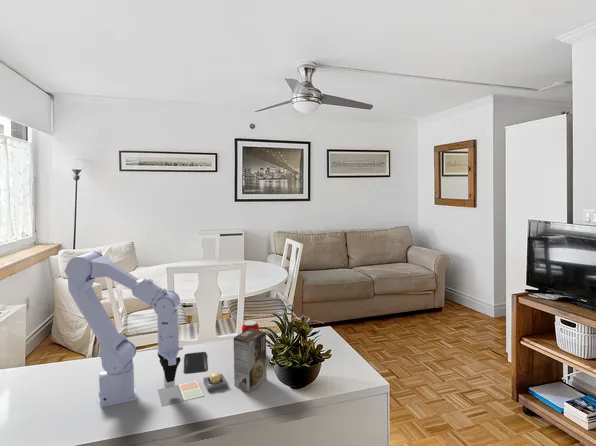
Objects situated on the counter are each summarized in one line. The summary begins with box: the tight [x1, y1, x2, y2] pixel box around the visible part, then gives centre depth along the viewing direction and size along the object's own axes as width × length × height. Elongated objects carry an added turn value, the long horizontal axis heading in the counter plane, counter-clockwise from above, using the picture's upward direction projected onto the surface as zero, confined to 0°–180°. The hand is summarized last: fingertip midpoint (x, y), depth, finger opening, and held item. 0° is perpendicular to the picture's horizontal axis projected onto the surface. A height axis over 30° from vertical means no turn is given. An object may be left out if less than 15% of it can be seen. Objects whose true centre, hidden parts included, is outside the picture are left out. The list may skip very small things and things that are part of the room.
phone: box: [183, 351, 209, 375], centre depth 135 cm, size 8×1×15 cm
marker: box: [163, 358, 176, 388], centre depth 114 cm, size 3×3×8 cm
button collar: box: [203, 373, 228, 393], centre depth 120 cm, size 6×6×2 cm
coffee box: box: [233, 328, 267, 393], centre depth 122 cm, size 9×6×16 cm
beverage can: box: [241, 320, 260, 333], centre depth 143 cm, size 6×6×12 cm
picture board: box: [157, 380, 205, 407], centre depth 116 cm, size 12×10×1 cm
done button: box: [209, 372, 221, 385], centre depth 120 cm, size 3×3×2 cm
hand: (169, 378), depth 114 cm, fingers closed on marker, 3 cm apart
